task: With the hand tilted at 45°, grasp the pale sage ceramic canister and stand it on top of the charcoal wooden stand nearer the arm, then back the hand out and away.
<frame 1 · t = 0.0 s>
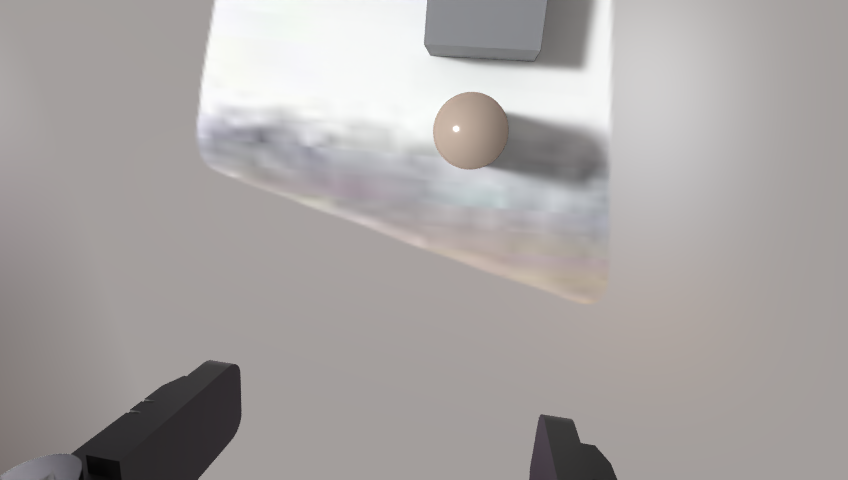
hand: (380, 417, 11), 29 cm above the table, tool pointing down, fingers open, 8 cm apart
canister: (473, 135, 37), on the table
stand: (487, 0, 34), on the table
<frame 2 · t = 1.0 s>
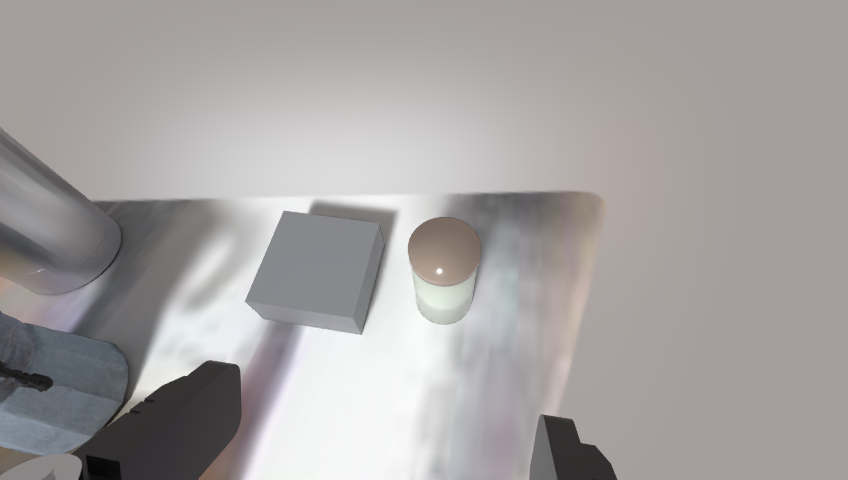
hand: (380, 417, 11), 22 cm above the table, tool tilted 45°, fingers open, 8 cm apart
canister: (443, 297, 36), on the table
stand: (326, 280, 38), on the table
moka pot: (83, 394, 33), on the table
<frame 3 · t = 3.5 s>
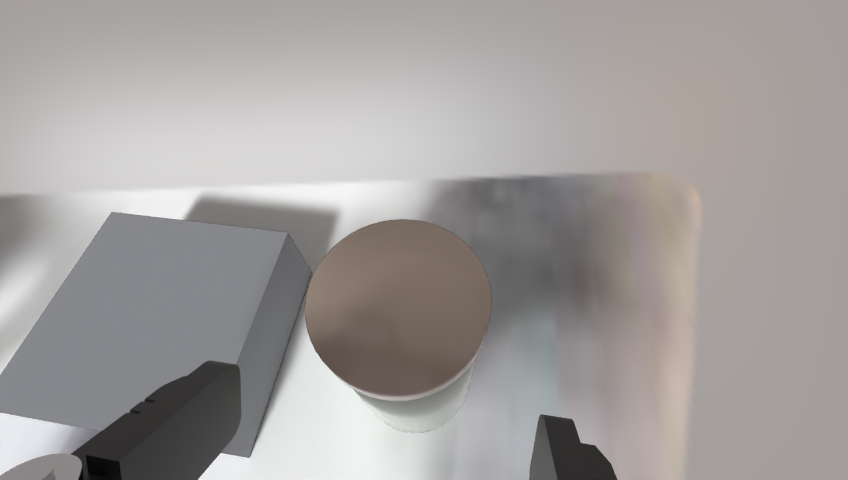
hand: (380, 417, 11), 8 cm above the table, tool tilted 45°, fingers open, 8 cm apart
canister: (415, 374, 19), on the table
stand: (198, 341, 20), on the table
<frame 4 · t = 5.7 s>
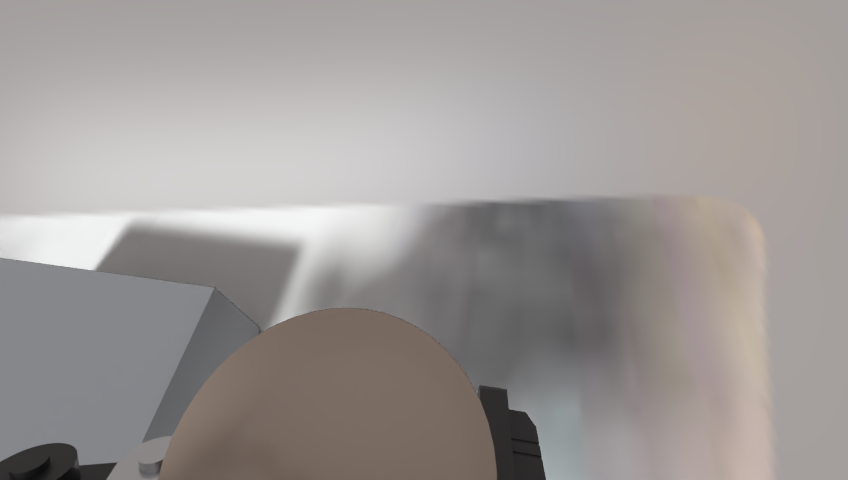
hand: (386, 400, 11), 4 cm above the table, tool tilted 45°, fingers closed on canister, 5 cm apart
stand: (103, 426, 15), on the table
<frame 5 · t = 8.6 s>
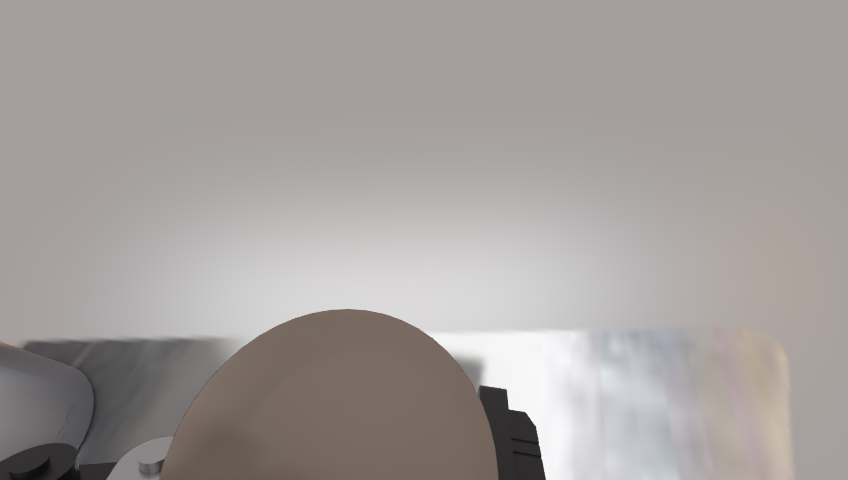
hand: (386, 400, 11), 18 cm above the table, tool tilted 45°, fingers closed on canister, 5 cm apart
when the fingers open (10 cm above the table, at t = 11.7 s): canister drops 1 cm, resting on stand.
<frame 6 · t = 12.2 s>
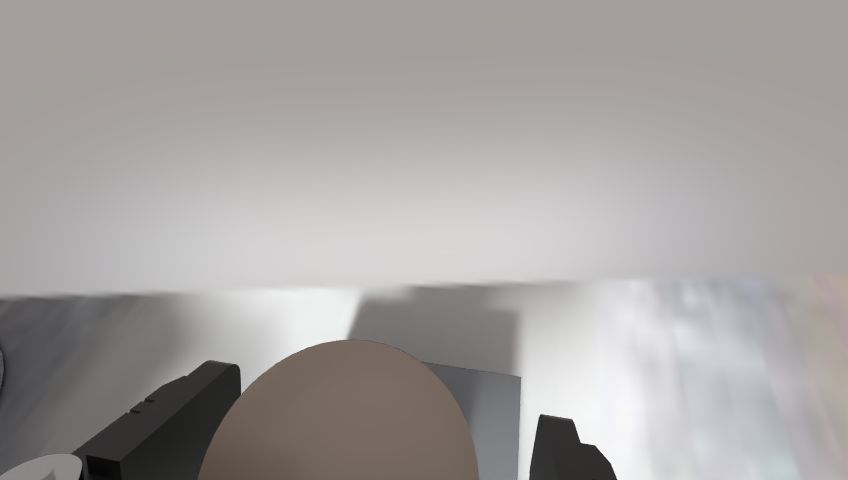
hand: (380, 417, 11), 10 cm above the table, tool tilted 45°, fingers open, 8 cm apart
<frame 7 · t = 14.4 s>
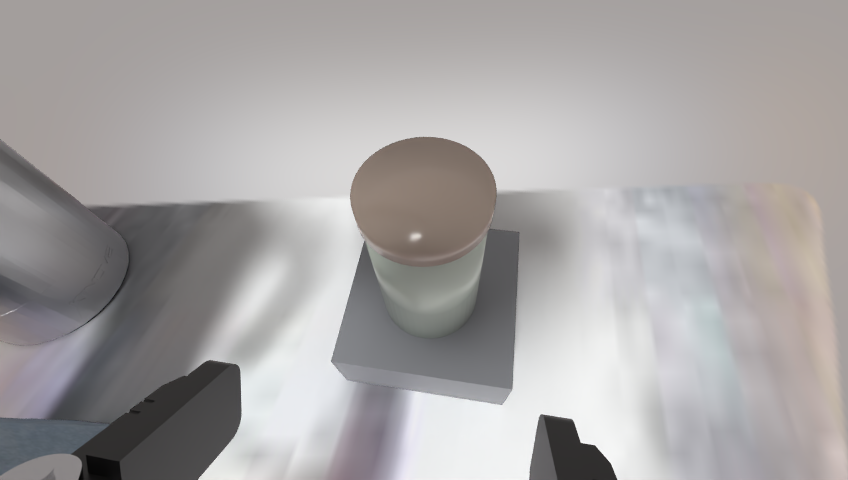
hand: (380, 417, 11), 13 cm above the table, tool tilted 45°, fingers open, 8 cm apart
canister: (430, 293, 22), point 4 cm above the table, touching stand
stand: (434, 318, 26), on the table
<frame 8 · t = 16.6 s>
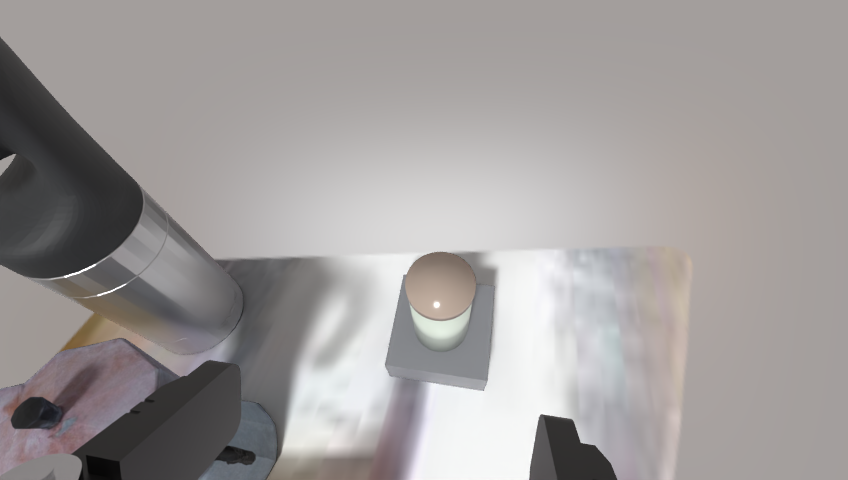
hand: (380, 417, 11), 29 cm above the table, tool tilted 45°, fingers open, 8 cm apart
canister: (441, 325, 37), point 4 cm above the table, touching stand
stand: (442, 337, 41), on the table
moka pot: (235, 451, 36), on the table
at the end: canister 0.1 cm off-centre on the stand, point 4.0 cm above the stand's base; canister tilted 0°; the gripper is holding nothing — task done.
